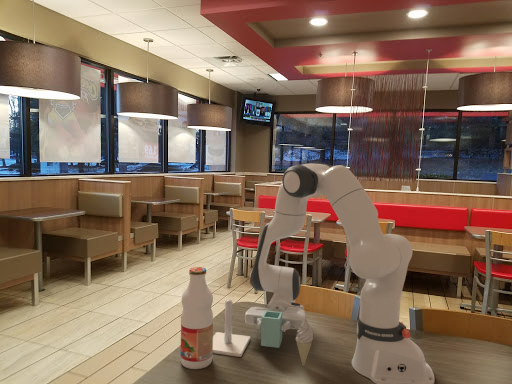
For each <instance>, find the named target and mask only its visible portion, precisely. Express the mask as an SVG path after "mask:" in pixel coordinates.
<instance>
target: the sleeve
mask: <svg viewBox="0 0 512 384" xmlns="http://www.w3.org/2000/svg"><path fill="white" fill-rule="evenodd" d="M281 324H282V312H275V311H265V312H264V314H263V315H262V317H261V329H260V331H261V332H260V335H261V336H260V346H262V347H269V348H276V349H278V348H280V346H281V343H282V341H283V332H281V331H280V326H281Z"/></svg>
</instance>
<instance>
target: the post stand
mask: <svg viewBox="0 0 512 384" xmlns="http://www.w3.org/2000/svg"><path fill="white" fill-rule="evenodd" d="M250 341H251V336H249V335H243V334H233V301H232V300H231V299H226V300H225V302H224V332H218V331H216V332H215V334H213V354H218V355H223V356H225V355H226V356H230V357H231V356H232V357H240V358H241V357H242V356H243V354H244V352H245V350H246V348H247V346H248V345H249V343H250Z"/></svg>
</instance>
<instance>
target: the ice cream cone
mask: <svg viewBox="0 0 512 384" xmlns="http://www.w3.org/2000/svg"><path fill="white" fill-rule="evenodd" d="M296 332H297V333H296V337H295V341H296V345H297V349H298V353H299V357H300V362H301V365H302V367H305V364H306V361H307V358H308V355H309V352H310V349H311V346H312V343H313V341H314V333H313V330H311V328H310V325H309V322H308V320H307V316H306V317H305V319H304V321H303V323H302V324H301V327H300V329H299V330H297V331H296Z"/></svg>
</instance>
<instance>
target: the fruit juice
mask: <svg viewBox="0 0 512 384" xmlns="http://www.w3.org/2000/svg"><path fill="white" fill-rule="evenodd" d="M188 275H189V281H188V282H189V283H188V285H187V287H186V288H185V290H184V291H183V292H182V295H181V306H182V311H181V315H180V363H181V365H182V366H183V367H185V368H186V369H189V370H199V369H204V368H206V367H208V366H210V365H211V363H212V361H213V354H214V353H213V336H214V313H213V309H212V306H213V303H214V295H213V292H212V291H211V289H210V288H209V287H208V285H207V281H206V276H207V268H206V267H202V266H193V267H191V268H189V272H188Z"/></svg>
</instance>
